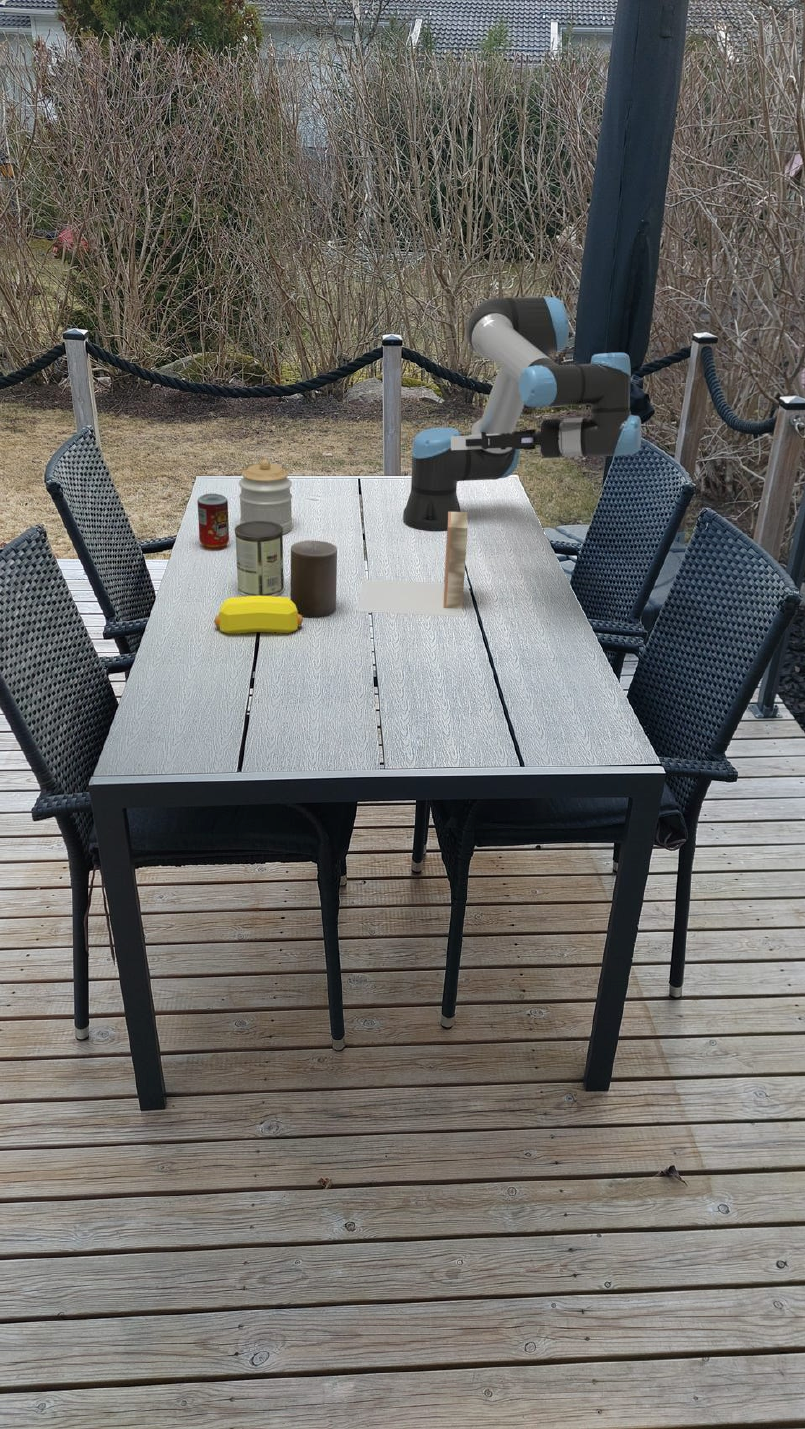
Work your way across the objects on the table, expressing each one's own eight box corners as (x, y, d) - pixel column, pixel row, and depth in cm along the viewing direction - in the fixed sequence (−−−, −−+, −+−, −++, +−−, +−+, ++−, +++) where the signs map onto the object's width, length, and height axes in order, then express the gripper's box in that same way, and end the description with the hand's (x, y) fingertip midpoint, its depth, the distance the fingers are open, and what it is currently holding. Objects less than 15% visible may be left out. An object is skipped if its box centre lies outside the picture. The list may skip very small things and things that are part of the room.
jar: (302, 527, 280) (302, 458, 271) (270, 541, 270) (269, 470, 262) (262, 516, 286) (260, 449, 277) (229, 530, 276) (226, 460, 268)
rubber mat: (461, 587, 249) (461, 584, 248) (462, 619, 233) (462, 616, 233) (363, 582, 249) (363, 579, 249) (357, 615, 233) (357, 611, 233)
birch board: (461, 590, 245) (466, 512, 236) (462, 608, 236) (467, 528, 227) (443, 590, 245) (448, 511, 236) (443, 608, 236) (448, 527, 228)
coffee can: (252, 577, 249) (250, 517, 243) (292, 586, 246) (291, 525, 239) (227, 593, 241) (225, 531, 234) (268, 602, 238) (267, 540, 231)
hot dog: (215, 622, 228) (213, 637, 222) (213, 591, 225) (212, 606, 218) (302, 620, 230) (303, 636, 224) (302, 590, 227) (303, 605, 220)
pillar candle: (301, 621, 230) (301, 552, 222) (283, 603, 237) (283, 536, 230) (343, 614, 234) (345, 546, 227) (325, 597, 241) (326, 531, 234)
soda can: (215, 553, 262) (213, 503, 256) (193, 547, 265) (190, 497, 259) (235, 545, 267) (233, 496, 261) (213, 539, 270) (211, 490, 264)
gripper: (549, 460, 212) (443, 463, 219) (573, 455, 235) (477, 458, 242) (549, 419, 210) (442, 424, 217) (573, 418, 233) (476, 422, 240)
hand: (460, 442), depth 230 cm, fingers open, 13 cm apart
